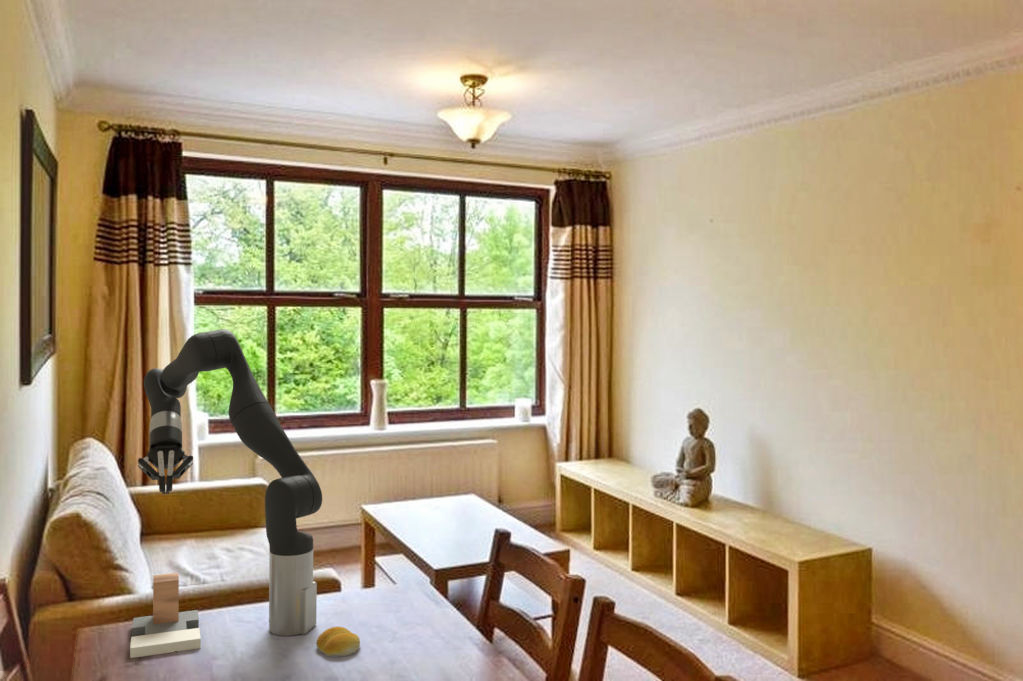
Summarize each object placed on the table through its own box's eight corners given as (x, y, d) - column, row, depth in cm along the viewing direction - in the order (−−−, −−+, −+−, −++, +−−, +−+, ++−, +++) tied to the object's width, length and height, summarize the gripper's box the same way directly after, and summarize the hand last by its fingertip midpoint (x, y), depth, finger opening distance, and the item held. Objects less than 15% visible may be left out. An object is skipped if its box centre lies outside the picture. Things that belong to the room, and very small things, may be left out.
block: (153, 616, 175) (153, 575, 174) (178, 613, 177) (178, 572, 176) (153, 624, 170) (153, 582, 170) (178, 621, 172) (178, 579, 172)
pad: (131, 646, 163) (131, 636, 163) (199, 637, 169) (199, 627, 169) (130, 658, 158) (130, 648, 158) (200, 648, 163) (200, 638, 163)
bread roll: (331, 662, 158) (332, 642, 158) (311, 647, 165) (311, 628, 165) (368, 651, 163) (368, 631, 163) (346, 637, 170) (346, 618, 170)
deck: (133, 627, 174) (133, 617, 173) (197, 618, 179) (197, 609, 179) (131, 646, 163) (131, 636, 163) (199, 637, 169) (199, 627, 169)
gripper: (136, 425, 195) (134, 485, 184) (194, 423, 200) (196, 481, 190) (137, 443, 200) (135, 503, 189) (194, 441, 205) (195, 498, 195)
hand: (165, 492), depth 189 cm, fingers closed
